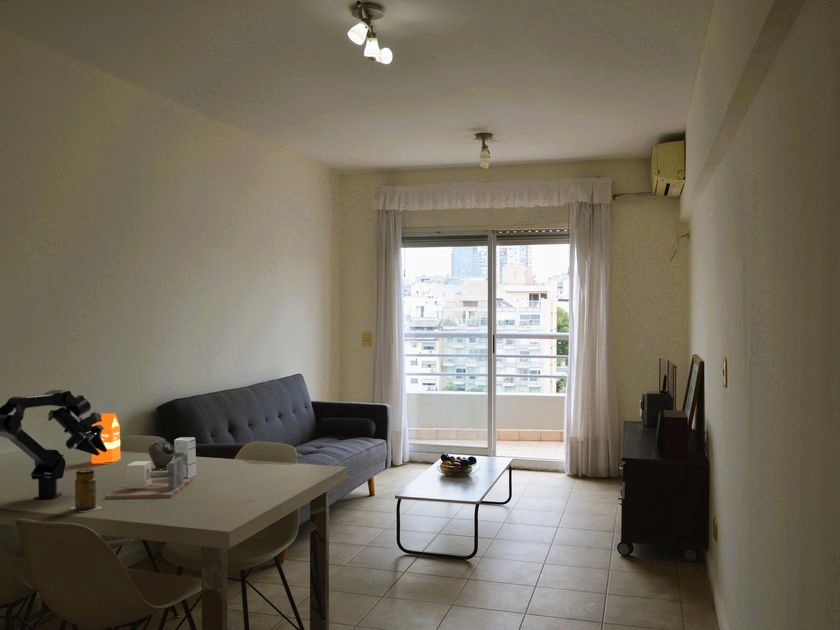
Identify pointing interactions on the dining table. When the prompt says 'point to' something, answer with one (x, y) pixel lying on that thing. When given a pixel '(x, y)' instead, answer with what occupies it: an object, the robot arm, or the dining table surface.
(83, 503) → the condiment
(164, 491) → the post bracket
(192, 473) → the syrup box
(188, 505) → the dining table surface
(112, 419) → the orange juice
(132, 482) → the white box with window
